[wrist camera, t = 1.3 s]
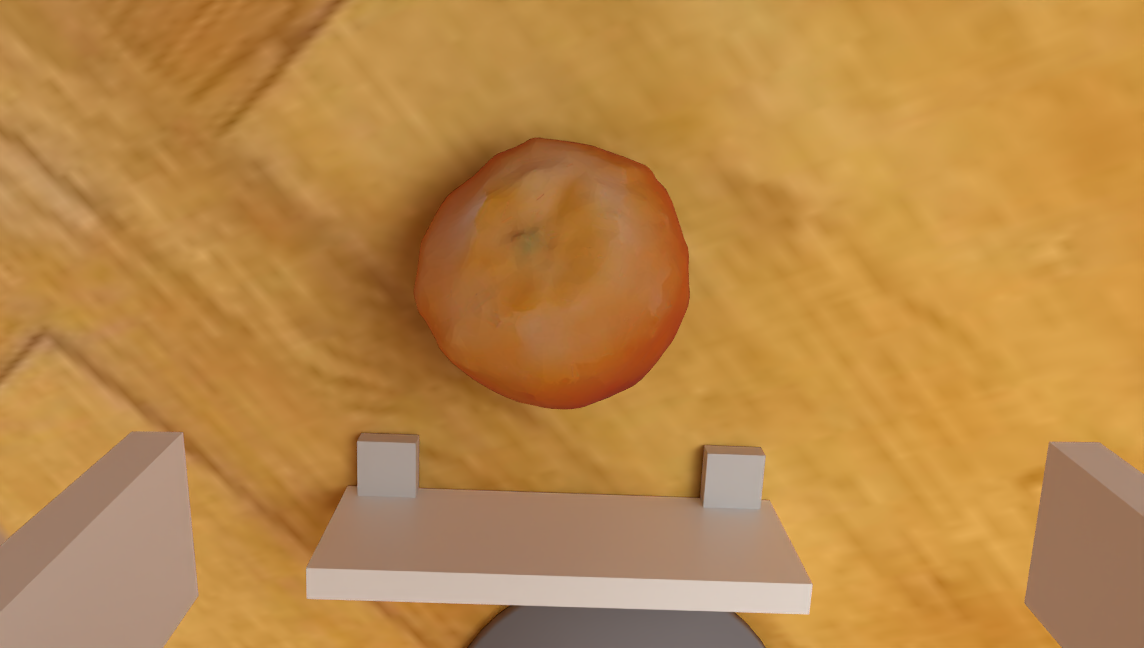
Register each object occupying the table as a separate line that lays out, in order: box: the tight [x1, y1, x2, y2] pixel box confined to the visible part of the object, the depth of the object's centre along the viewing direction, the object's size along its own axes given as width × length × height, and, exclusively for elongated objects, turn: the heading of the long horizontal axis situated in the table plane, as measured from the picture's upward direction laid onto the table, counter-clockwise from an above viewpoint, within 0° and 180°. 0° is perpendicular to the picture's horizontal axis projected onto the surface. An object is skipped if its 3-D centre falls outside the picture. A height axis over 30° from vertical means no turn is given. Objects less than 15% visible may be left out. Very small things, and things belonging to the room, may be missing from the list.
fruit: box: [414, 138, 690, 409], centre depth 30 cm, size 8×8×8 cm
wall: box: [306, 433, 813, 614], centre depth 32 cm, size 5×15×6 cm, turn 87°
